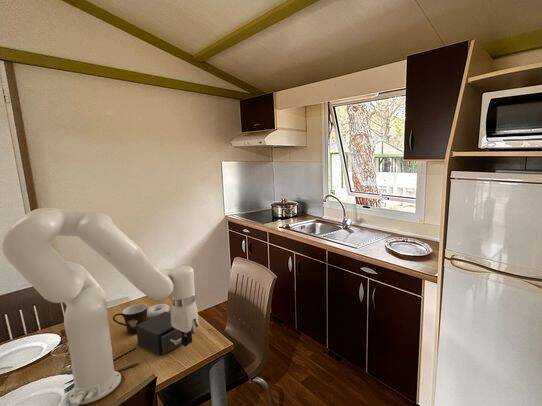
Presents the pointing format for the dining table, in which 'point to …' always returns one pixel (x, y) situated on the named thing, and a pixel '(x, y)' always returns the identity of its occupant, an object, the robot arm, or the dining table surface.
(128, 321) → the coffee mug
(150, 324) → the gray drawer box
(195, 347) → the dining table surface
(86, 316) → the robot arm
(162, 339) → the drawer
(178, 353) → the dining table surface
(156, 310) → the donut
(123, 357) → the dining table surface
